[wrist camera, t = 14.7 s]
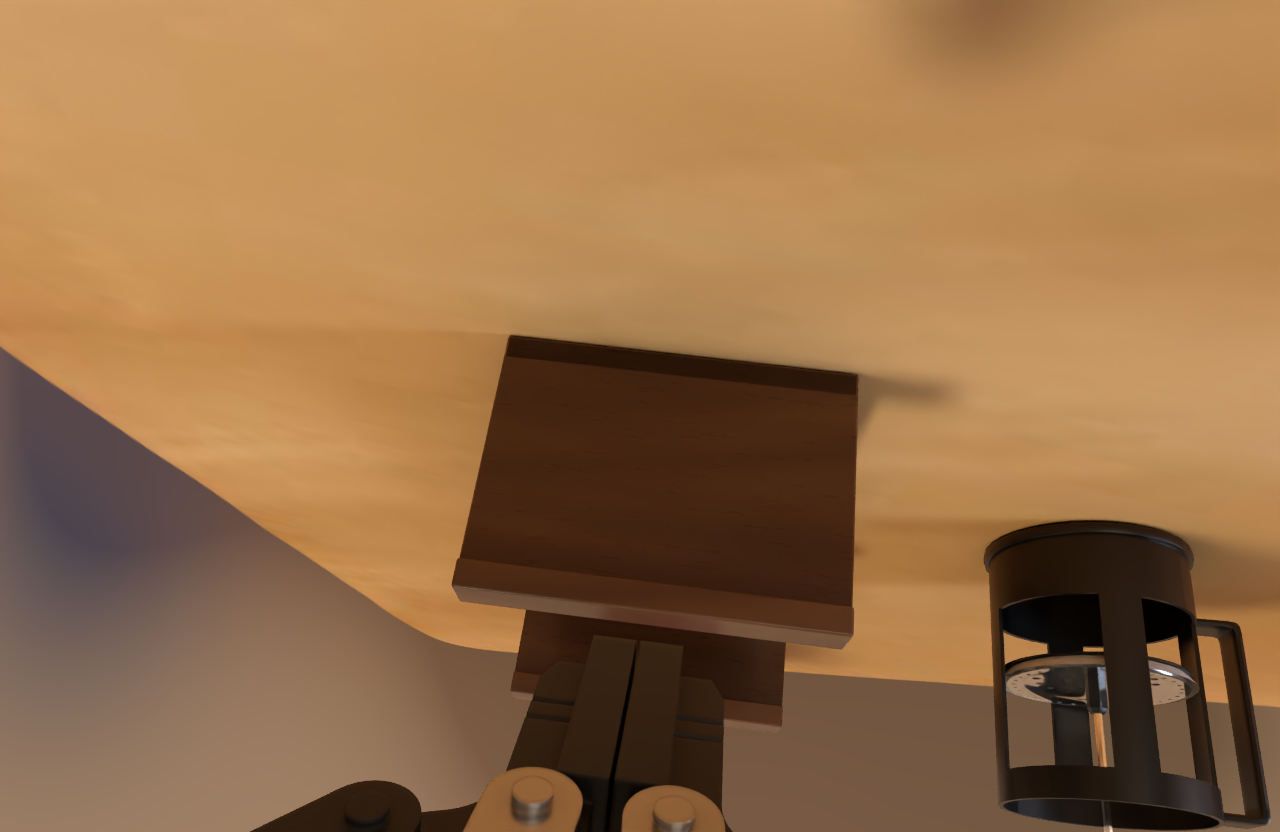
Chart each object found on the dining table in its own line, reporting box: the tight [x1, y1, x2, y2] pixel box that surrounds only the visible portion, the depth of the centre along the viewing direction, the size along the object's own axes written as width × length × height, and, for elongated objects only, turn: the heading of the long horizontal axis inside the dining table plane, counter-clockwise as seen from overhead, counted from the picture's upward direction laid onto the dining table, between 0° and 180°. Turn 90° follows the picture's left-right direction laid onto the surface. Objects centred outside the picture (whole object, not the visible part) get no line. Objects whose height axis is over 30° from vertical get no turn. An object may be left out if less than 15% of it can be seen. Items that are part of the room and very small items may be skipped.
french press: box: [984, 522, 1270, 832], centre depth 43 cm, size 12×9×23 cm
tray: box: [452, 336, 859, 733], centre depth 41 cm, size 19×13×10 cm
